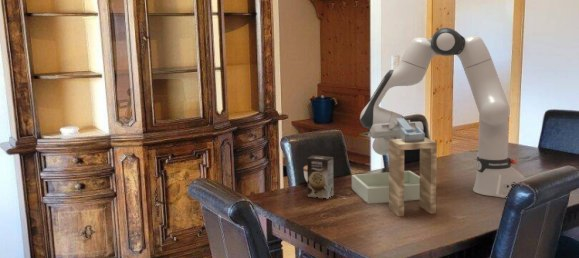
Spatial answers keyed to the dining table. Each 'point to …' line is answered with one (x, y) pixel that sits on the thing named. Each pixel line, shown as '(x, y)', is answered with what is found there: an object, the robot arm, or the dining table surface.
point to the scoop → (410, 132)
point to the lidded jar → (305, 173)
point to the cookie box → (320, 176)
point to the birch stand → (426, 174)
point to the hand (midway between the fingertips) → (402, 122)
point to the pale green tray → (384, 186)
